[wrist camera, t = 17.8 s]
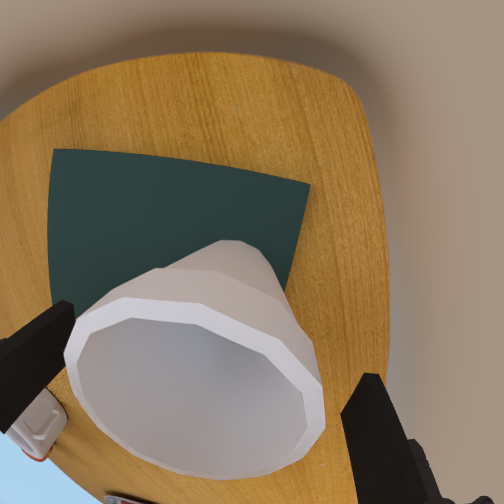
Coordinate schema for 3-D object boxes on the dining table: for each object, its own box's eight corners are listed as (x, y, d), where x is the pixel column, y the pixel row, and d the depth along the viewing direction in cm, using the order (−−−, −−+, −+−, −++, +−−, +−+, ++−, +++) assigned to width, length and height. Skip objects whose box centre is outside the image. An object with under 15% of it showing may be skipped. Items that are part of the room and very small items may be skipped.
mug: (46, 419, 31) (22, 452, 22) (13, 373, 29) (-18, 404, 19) (90, 428, 29) (64, 471, 20) (50, 374, 27) (12, 417, 17)
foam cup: (156, 232, 19) (28, 309, 7) (280, 204, 18) (307, 264, 6) (191, 341, 22) (135, 470, 9) (302, 325, 21) (328, 471, 8)
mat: (308, 184, 19) (310, 184, 18) (261, 365, 23) (260, 372, 22) (60, 149, 19) (53, 148, 18) (58, 305, 23) (52, 308, 22)
